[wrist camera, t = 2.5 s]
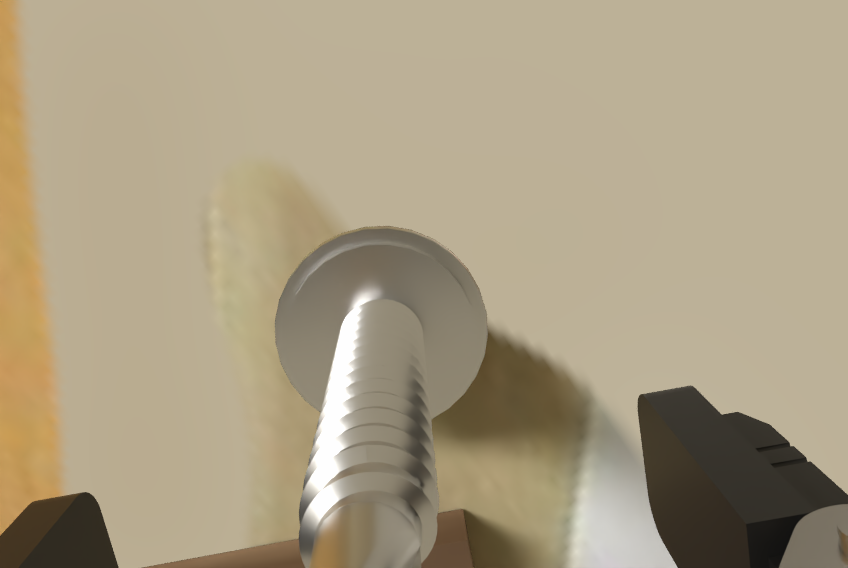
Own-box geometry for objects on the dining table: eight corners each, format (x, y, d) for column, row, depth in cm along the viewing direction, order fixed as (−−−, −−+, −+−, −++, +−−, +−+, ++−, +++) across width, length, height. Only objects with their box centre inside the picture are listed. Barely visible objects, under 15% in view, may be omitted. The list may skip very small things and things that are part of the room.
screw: (280, 217, 19) (477, 209, 19) (295, 400, 20) (480, 392, 20) (49, 476, 7) (625, 450, 7) (125, 918, 8) (610, 888, 8)
